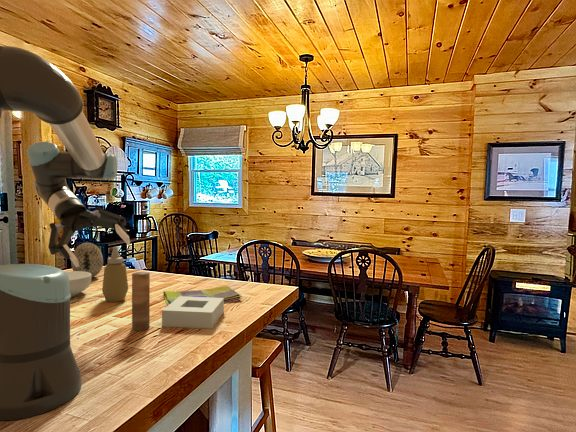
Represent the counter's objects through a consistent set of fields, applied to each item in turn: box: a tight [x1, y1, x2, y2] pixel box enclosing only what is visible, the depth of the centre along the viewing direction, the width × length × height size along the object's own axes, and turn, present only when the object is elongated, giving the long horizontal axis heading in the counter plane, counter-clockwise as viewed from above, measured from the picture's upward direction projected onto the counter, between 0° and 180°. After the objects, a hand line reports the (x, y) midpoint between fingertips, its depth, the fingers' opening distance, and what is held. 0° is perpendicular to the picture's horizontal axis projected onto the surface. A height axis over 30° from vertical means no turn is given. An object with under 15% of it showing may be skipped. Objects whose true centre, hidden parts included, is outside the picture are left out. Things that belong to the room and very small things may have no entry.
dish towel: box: [163, 285, 243, 306], centre depth 130 cm, size 18×24×3 cm
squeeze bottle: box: [101, 246, 129, 303], centre depth 125 cm, size 8×8×18 cm
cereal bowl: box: [64, 270, 93, 298], centre depth 129 cm, size 17×17×7 cm
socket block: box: [161, 296, 225, 330], centre depth 108 cm, size 14×14×4 cm
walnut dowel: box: [131, 271, 151, 332], centre depth 100 cm, size 4×4×15 cm
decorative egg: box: [70, 242, 104, 279], centre depth 154 cm, size 12×12×15 cm
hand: (103, 251), depth 97 cm, fingers open, 13 cm apart
